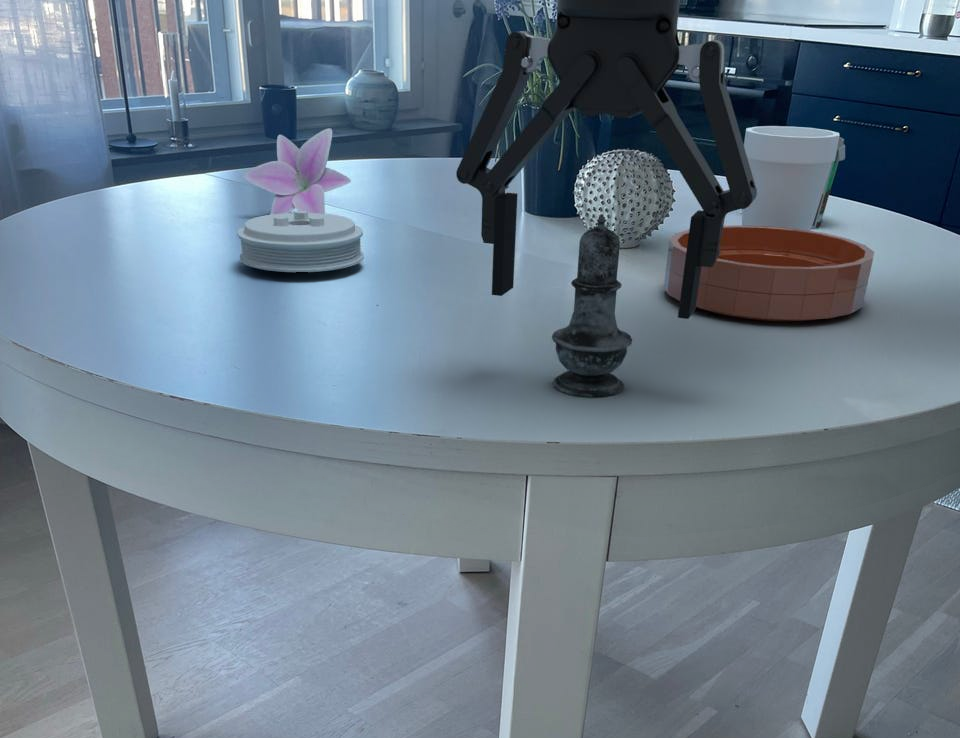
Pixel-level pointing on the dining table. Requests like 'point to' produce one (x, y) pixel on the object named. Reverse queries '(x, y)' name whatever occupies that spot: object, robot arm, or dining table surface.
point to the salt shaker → (593, 320)
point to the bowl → (776, 274)
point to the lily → (299, 175)
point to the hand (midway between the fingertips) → (592, 302)
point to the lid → (300, 242)
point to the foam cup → (787, 174)
